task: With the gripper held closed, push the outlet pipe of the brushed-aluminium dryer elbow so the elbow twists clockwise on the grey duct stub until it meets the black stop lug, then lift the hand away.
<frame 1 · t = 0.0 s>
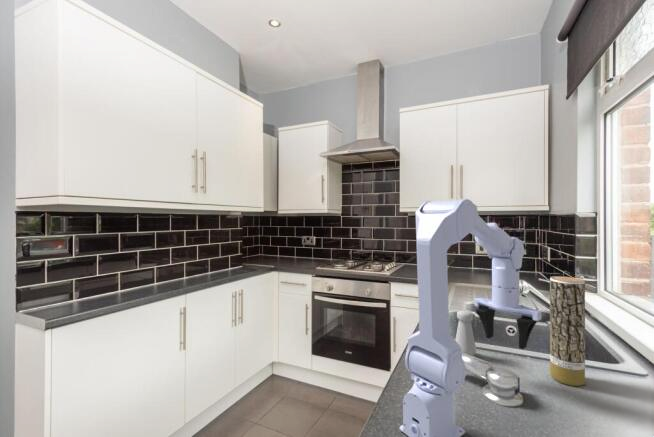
hand: (505, 342, 75), 10 cm above the counter, tool pointing down, fingers open, 7 cm apart
paper tube: (567, 380, 76), on the counter
elbow: (482, 368, 73), point 4 cm above the counter, hinge at 0.0°
duct stub: (502, 396, 70), on the counter
salt shaker: (465, 356, 90), on the counter
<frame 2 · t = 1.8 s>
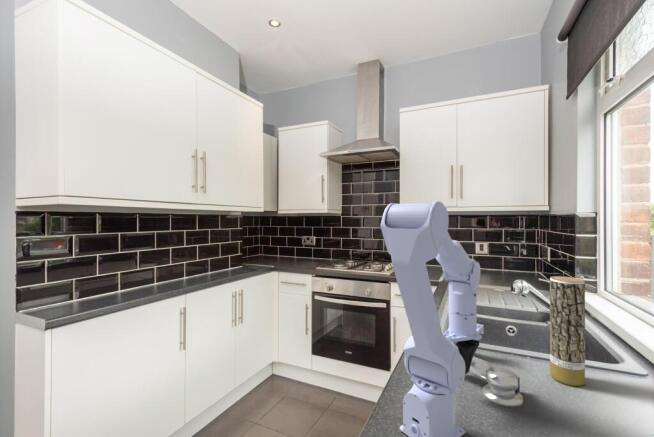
hand: (462, 371, 69), 6 cm above the counter, tool pointing down, fingers closed
nothing on the counter moved.
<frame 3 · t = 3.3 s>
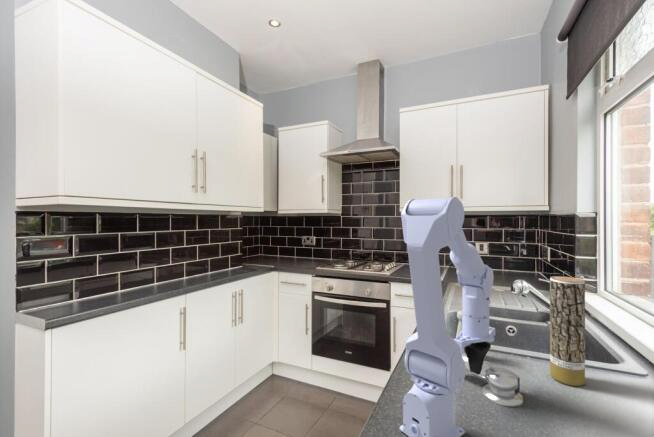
hand: (475, 372, 73), 4 cm above the counter, tool pointing down, fingers closed, pressing on elbow
elbow: (482, 368, 73), point 4 cm above the counter, hinge at 0.6°, touching gripper
everything else where it was.
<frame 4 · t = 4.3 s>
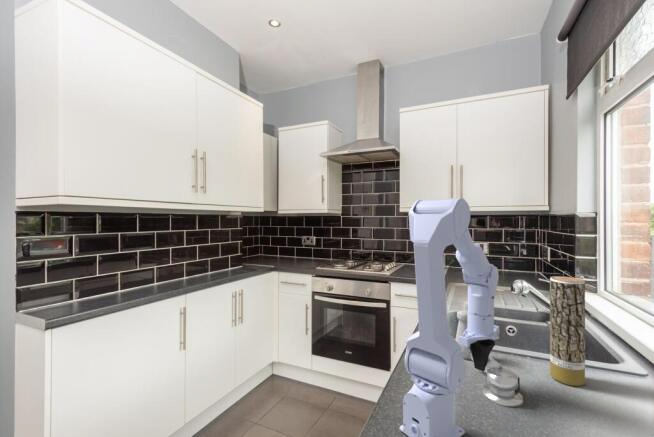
hand: (480, 369, 74), 4 cm above the counter, tool pointing down, fingers closed, pressing on elbow
elbow: (491, 366, 74), point 4 cm above the counter, hinge at 33.7°, touching gripper
everything else where it was.
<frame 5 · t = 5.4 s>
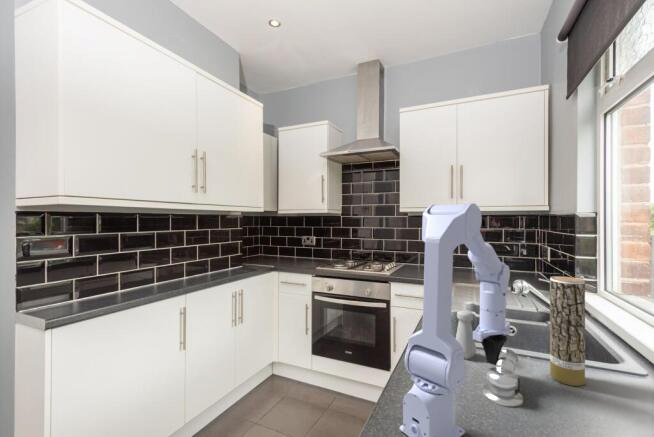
hand: (492, 363, 77), 4 cm above the counter, tool pointing down, fingers closed, pressing on elbow
elbow: (504, 368, 73), point 4 cm above the counter, hinge at 71.8°, touching duct stub, gripper
everything else where it was.
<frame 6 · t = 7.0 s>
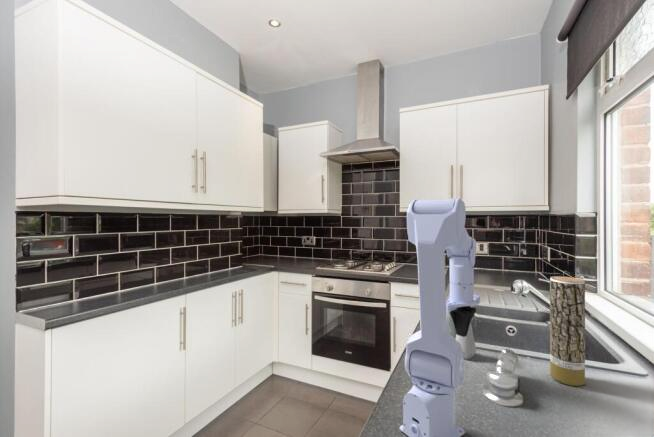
hand: (461, 335, 80), 10 cm above the counter, tool pointing down, fingers closed
elbow: (504, 368, 73), point 4 cm above the counter, hinge at 71.7°, touching duct stub
everything else where it was.
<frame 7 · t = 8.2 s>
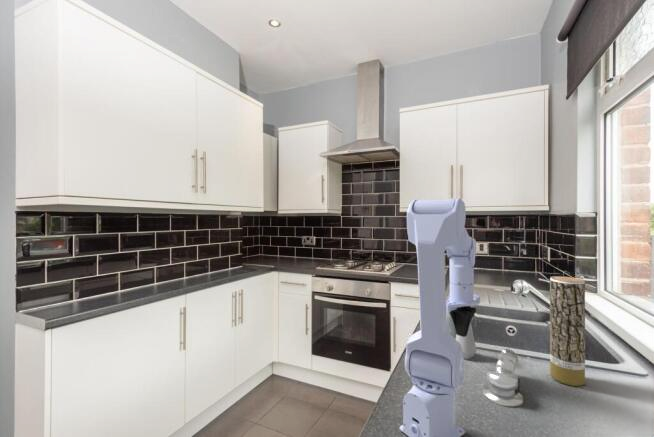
hand: (461, 335, 80), 10 cm above the counter, tool pointing down, fingers closed
nothing on the counter moved.
at the end: elbow at +72° (first picture: +0°); the gripper is holding nothing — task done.
